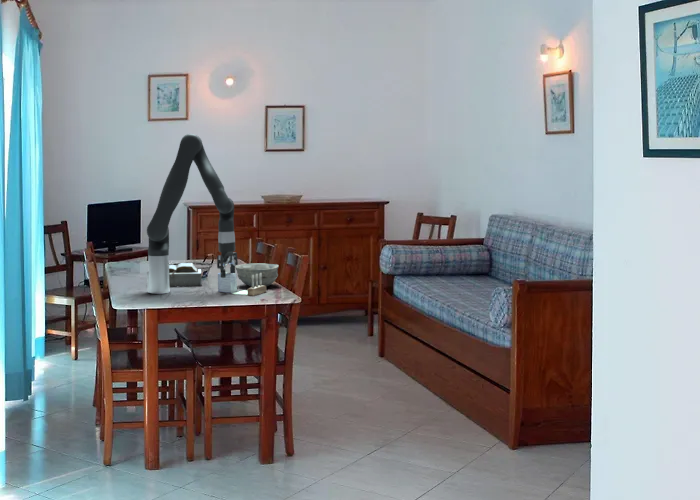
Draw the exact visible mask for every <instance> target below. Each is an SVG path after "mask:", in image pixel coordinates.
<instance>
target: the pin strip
mask: <svg viewBox="0 0 700 500" xmlns="http://www.w3.org/2000/svg"><path fill="white" fill-rule="evenodd" d="M259 279H260V285H259V286H258V274H256V286H255V287H254V275H252V287H249V288H247V290H246V291H248V295H247V296H248V297H251V296H252V297H255V296H259V295H261V294H265V293H267V287H266V286H265V285H262V273H259Z"/></svg>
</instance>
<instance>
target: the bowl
mask: <svg viewBox="0 0 700 500" xmlns="http://www.w3.org/2000/svg"><path fill="white" fill-rule="evenodd" d="M278 269H279V264H277V263H274V264H273V263H264V262H263V263H260V262H259V263H257V262H256V263H255V262H254V263H253V262H252V263H242V264H238V265H236V267H235V271H236V275H237V279H239V280H240V282H242V283H243V284H245V285H246V286H249V287H250V288H252V275H254V287H255V286H256V274H258V286H259V285H260V279H259V273H262V285H265V286H266V288H267V287H269V286H270V285H272V284H273V283H274V282H275V281H276V280H277V278H278V277H279V274H278V272H279V271H278Z"/></svg>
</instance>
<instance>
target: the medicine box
mask: <svg viewBox="0 0 700 500" xmlns="http://www.w3.org/2000/svg"><path fill="white" fill-rule="evenodd" d="M237 279H238V276H237V272H235V273H230V272H226V277H225V278H221V272H218V273H217V292H219V293H229V294H232V293H236V292H238V283H237V282H238V280H237Z"/></svg>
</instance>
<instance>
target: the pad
mask: <svg viewBox="0 0 700 500" xmlns="http://www.w3.org/2000/svg"><path fill="white" fill-rule="evenodd" d="M231 294H232V295H238V296H239V295H242V296H248V291H247V290H246V289H245V290H243V289H242V290H240V291H237V292H234V293H231Z"/></svg>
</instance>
